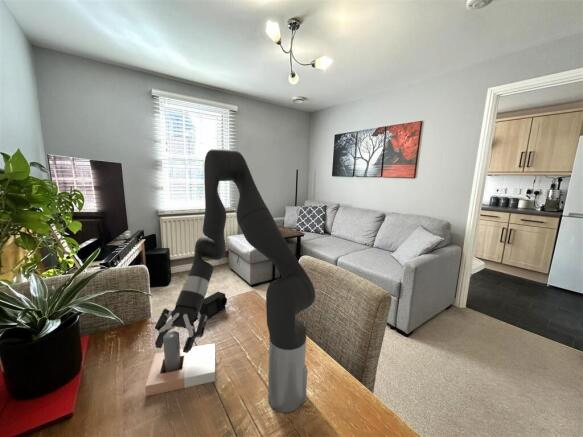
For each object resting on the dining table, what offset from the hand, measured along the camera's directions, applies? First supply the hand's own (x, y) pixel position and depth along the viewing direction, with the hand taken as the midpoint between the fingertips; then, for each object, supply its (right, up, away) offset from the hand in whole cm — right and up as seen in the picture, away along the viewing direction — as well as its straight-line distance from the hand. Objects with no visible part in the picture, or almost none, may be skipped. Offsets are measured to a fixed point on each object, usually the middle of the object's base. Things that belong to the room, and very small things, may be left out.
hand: (171, 350), depth 68 cm
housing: (+3, -7, +2) cm, 8 cm away
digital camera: (+1, -2, +32) cm, 33 cm away
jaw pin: (0, -7, +1) cm, 8 cm away
